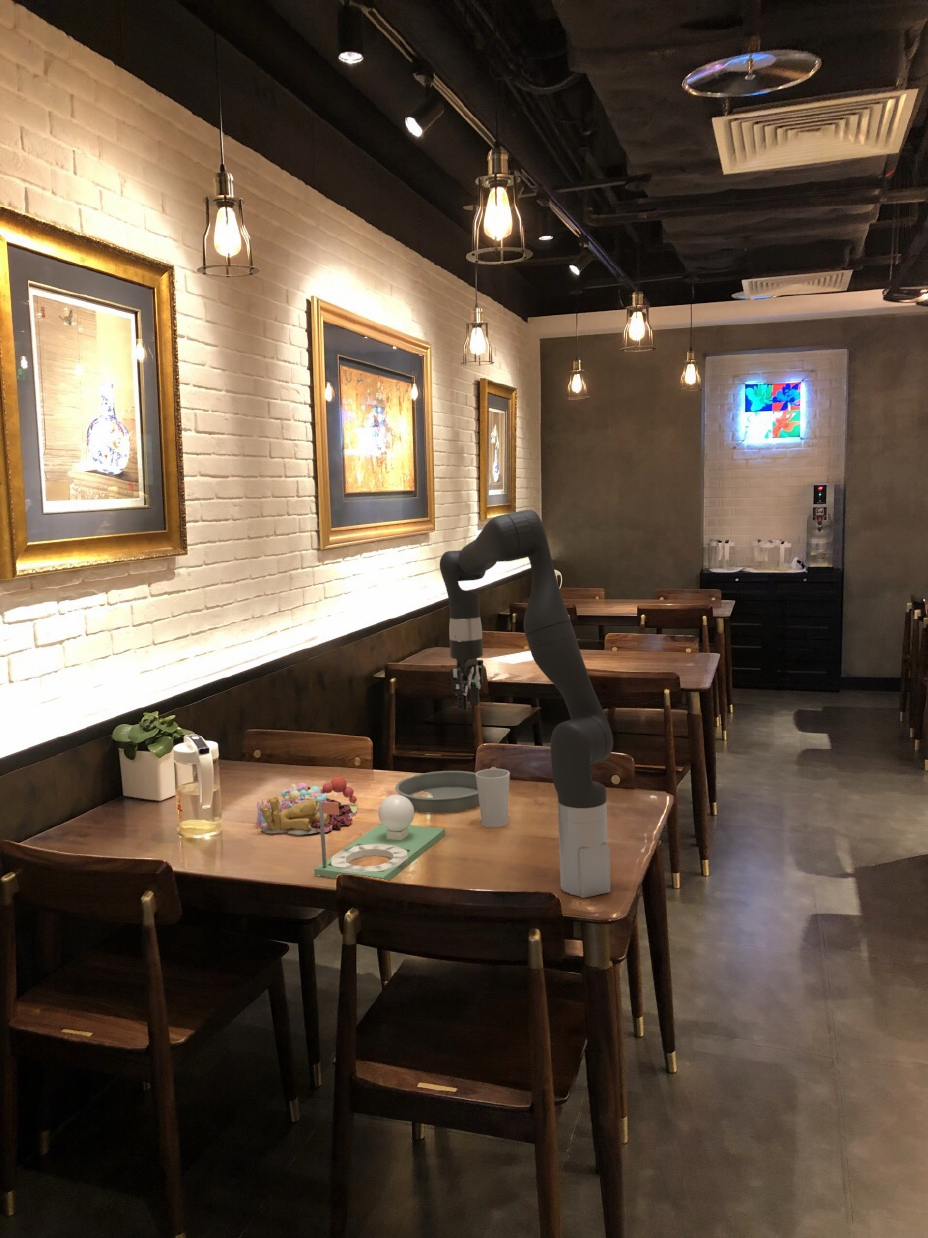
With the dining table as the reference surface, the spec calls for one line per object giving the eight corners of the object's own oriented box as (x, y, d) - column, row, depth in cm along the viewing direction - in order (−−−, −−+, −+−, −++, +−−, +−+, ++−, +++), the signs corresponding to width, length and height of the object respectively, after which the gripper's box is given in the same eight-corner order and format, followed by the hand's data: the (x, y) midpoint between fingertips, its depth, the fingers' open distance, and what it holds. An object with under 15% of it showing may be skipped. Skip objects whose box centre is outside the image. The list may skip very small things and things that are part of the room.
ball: (420, 832, 209) (418, 797, 208) (385, 839, 206) (383, 803, 205) (408, 822, 216) (406, 788, 216) (374, 828, 214) (373, 793, 213)
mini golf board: (383, 828, 222) (379, 764, 220) (445, 835, 216) (442, 768, 214) (314, 876, 195) (310, 802, 193) (383, 885, 188) (379, 809, 187)
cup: (508, 829, 218) (506, 778, 216) (474, 828, 220) (472, 778, 218) (513, 818, 226) (512, 768, 224) (481, 817, 227) (479, 768, 226)
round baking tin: (449, 781, 260) (448, 765, 259) (512, 799, 241) (511, 782, 241) (376, 802, 244) (375, 785, 243) (438, 823, 225) (437, 804, 225)
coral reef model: (350, 836, 219) (348, 797, 218) (248, 841, 219) (245, 802, 218) (361, 803, 244) (359, 768, 243) (269, 807, 243) (267, 772, 242)
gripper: (463, 632, 226) (466, 701, 228) (437, 641, 213) (441, 714, 215) (492, 633, 223) (495, 702, 225) (468, 641, 210) (471, 715, 212)
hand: (468, 708), depth 220 cm, fingers open, 6 cm apart
